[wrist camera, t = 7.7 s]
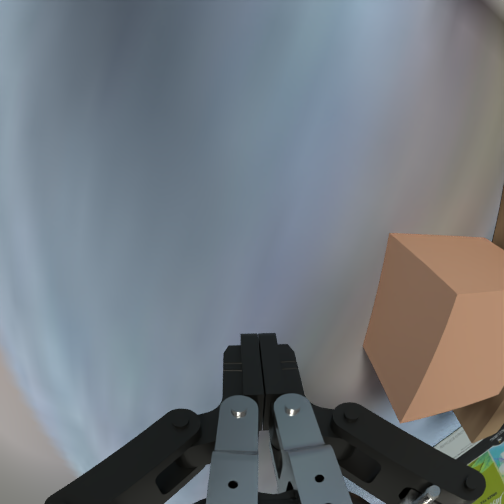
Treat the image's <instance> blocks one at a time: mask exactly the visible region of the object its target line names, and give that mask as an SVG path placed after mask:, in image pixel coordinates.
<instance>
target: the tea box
mask: <svg viewBox="0 0 504 504" xmlns="http://www.w3.org/2000/svg"><path fill="white" fill-rule="evenodd" d="M434 448H435V449H437V450H439V451H441V452H443V453H445V454H447V455H448V456H450V457H452V458H454V459H456V460H458V461H460V462H462V463H464V464H466V465H468V466H470V467H472V468H474V469H476V470H477V471H479V472H480V473H482V475H483V476H484V478H485V481H486V488H485V491H484V493H483V495H482V496H481V497H480V498H478V499H477V500H476V501H475V502H474V503H472V504H504V424H503V425H502V426H501V428H500V429H499V430H498V432H497V433H495V434H493V435H491V436H489V437H486V438H484V439H482V440H480V441H477V442H475V443H471V441H470V440H469V438H468V436H467V434H466V433H465V431H464V429H463V427H460V428H459V429H458V430H456V431H455V432H454V433H452V434H451V435H450V436H448V437H447V438H445V439H444V440H443V441H441V442H440V443H439V444H437V445H436V446H434Z"/></svg>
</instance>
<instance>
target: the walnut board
mask: <svg viewBox="0 0 504 504" xmlns="http://www.w3.org/2000/svg"><path fill="white" fill-rule="evenodd" d="M492 243H494V244H495V245H497V246H498V247H500V248H501V249H503V250H504V187H503V193H502V199H501V204H500V209H499V214H498V219H497V224H496V228H495V232H494V237H493V241H492ZM453 412H454V414H455V415H456V417H457V419H458V420H459V422H460V424H461V426H462V427H463V429H464V431H465V433H466V434H467V436H468V438H469V440H470V441H471V443H475V442H477V441H480V440H482V439H484V438H486V437H489V436H491V435H493V434H495V433H497V432H498V430H499V429H500V428H501V426H502V425H503V424H504V386H503V388H502V389H501V391H500V393H499V394H498V395H496V396H493V397H490V398H487V399H485V400H482V401H479V402H476V403H473V404H470V405H467V406H464V407H461V408H457V409H454V410H453Z"/></svg>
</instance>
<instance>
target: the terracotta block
mask: <svg viewBox="0 0 504 504" xmlns="http://www.w3.org/2000/svg"><path fill="white" fill-rule="evenodd" d="M363 347H364V349H365V351H366V353H367V355H368V357H369V359H370V361H371V363H372V365H373V367H374V369H375V372H376V374H377V376H378V378H379V380H380V382H381V384H382V386H383V388H384V390H385V392H386V394H387V396H388V399H389V401H390V403H391V405H392V407H393V409H394V411H395V414H396V416H397V418H398V420H399V422H400V423H404V422H409V421H413V420H417V419H421V418H425V417H429V416H433V415H437V414H440V413H444V412H447V411H451V410H454V409H457V408H461V407H464V406H467V405H470V404H473V403H476V402H479V401H482V400H485V399H487V398H490V397H493V396H496V395H498V394H499V393H500V391H501V389H502V388H503V386H504V250H503V249H501V248H500V247H498V246H497V245H495V244H494V243H492V242H490V241H489V240H487V239H486V238H479V237H461V236H442V235H421V234H398V233H389V238H388V243H387V248H386V253H385V258H384V263H383V268H382V272H381V277H380V281H379V286H378V290H377V294H376V298H375V302H374V306H373V310H372V314H371V318H370V322H369V326H368V329H367V333H366V336H365V340H364V343H363Z"/></svg>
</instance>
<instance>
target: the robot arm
mask: <svg viewBox="0 0 504 504" xmlns="http://www.w3.org/2000/svg"><path fill="white" fill-rule="evenodd" d="M262 424H263V430H269V433H270V443H269V447H270V452H271V457H272V461H273V466H274V471H275V475H276V480H277V491H278V494H267V493H260V492H258V437H259V431H261V430H262ZM210 463H211V466H210V474H209V482H208V490H207V498H205V499H202V500H200V501H198V502H196V503H194V504H370V503H369V502H367V501H366V500H364V499H363V498H361V497H360V496H358V495H356V494H354V493H351V492H349V491H348V489H347V487H346V484H345V481H344V478H343V476H345V477H346V478H347V479H349V480H350V481H352V482H353V483H355V484H356V485H358V486H359V487H361V488H362V489H364V490H366V491H367V492H369V493H370V494H372V495H373V496H375V497H377V498H378V499H380V500H381V501H383V502H385V503H386V504H472V503H474V502H475V501H476V500H477V499H478V498H480V497H481V496H482V495H483V493H484V491H485V488H486V481H485V478H484V476H483V475H482V473H480V472H479V471H477V470H476V469H474V468H472V467H470V466H468V465H466V464H464V463H462V462H460V461H458V460H456V459H454V458H452V457H450V456H448V455H447V454H445V453H443V452H441V451H439V450H437V449H435V448H434V447H432V446H430V445H428V444H426V443H424V442H423V441H421V440H419V439H417V438H416V437H414V436H412V435H410V434H408V433H407V432H405V431H403V430H401V429H400V428H398V427H396V426H395V425H393V424H391V423H390V422H388V421H386V420H384V419H383V418H381V417H379V416H378V415H376V414H374V413H373V412H371V411H369V410H368V409H366V408H365V407H363V406H361V405H359V404H357V403H351V402H348V403H343V404H340V405H339V406H337V407H336V408H335V410H333V409H327V408H321V407H318V406H315V405H313V404H312V403H310V402H309V400H308V399H307V398H306V397H305V395H304V391H303V387H302V383H301V378H300V374H299V370H298V366H297V362H296V357H295V353H294V351H293V350H292V349H291V348H290V346H289V345H288V344H279V345H278V344H277V339H276V334H275V333H261V334H258V335H257V334H241V345H236V346H228V347H227V349H226V351H225V352H224V359H223V398H222V402H221V404H220V405H219V406H218V407H217V408H216V409H214V410H213V411H210V412H207V413H204V414H199V415H197V414H196V413H194V412H193V411H191V410H188V409H175V410H172V411H170V412H168V413H167V414H165V415H164V416H163V417H162V418H160V419H159V420H158V421H156V422H155V423H154V424H152V425H151V426H150V427H149V428H147V429H146V430H145V431H143V432H142V433H141V434H139V435H138V436H137V437H135V438H134V439H132V440H131V441H130V442H128V443H127V444H126V445H124V446H123V447H122V448H120V449H119V450H117V451H116V452H115V453H113V454H112V455H110V456H109V457H108V458H106V459H105V460H103V461H102V462H101V463H99V464H98V465H96V466H95V467H93V468H92V469H90V470H89V471H88V472H86V473H85V474H83V475H82V476H80V477H79V478H77V479H76V480H74V481H73V482H71V483H70V484H68V485H67V486H65V487H64V488H62V489H61V490H59V491H57V492H56V493H54V494H53V495H51V496H50V497H49V498H48V499H47V500H46V501H45V504H164V503H165V502H166V501H167V500H169V499H170V498H171V497H172V496H173V495H174V494H175V493H177V492H178V491H179V490H180V489H181V488H182V487H183V486H185V485H186V484H187V483H188V482H189V481H190V480H191V479H192V478H193V477H194V476H196V475H197V474H198V473H199V472H200V471H201V470H202V469H203V468H204V467H205V465H206V464H210Z"/></svg>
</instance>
